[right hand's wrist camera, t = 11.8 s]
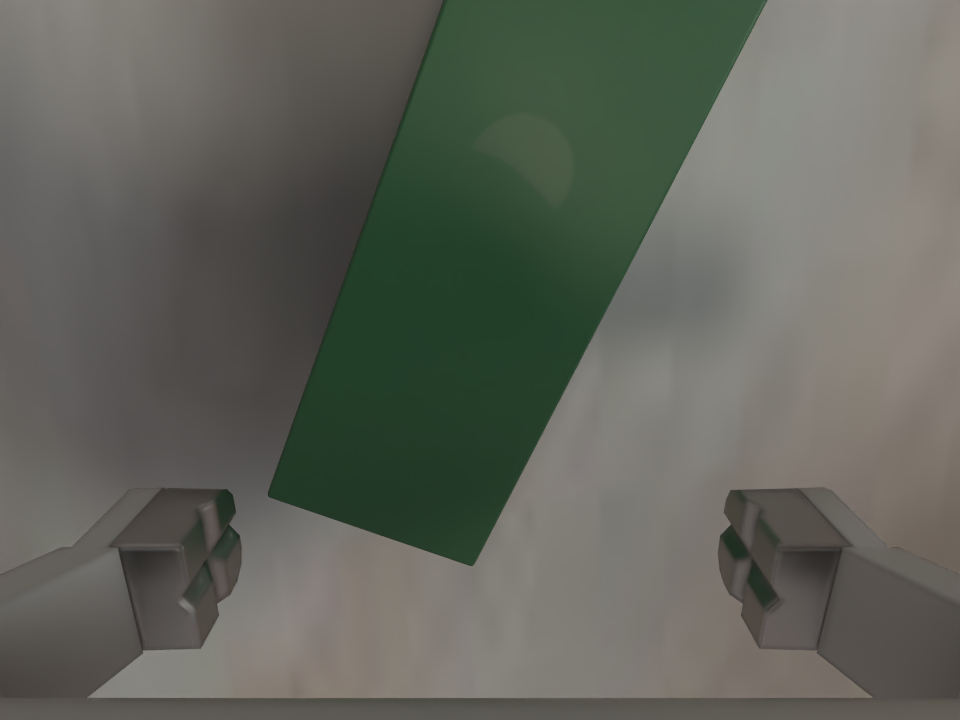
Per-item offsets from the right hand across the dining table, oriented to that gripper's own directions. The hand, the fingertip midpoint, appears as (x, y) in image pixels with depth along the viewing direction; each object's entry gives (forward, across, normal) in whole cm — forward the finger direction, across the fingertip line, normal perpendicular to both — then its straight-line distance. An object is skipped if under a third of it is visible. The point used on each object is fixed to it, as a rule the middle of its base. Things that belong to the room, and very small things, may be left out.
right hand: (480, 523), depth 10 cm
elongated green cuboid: (+12, -1, -5) cm, 13 cm away
